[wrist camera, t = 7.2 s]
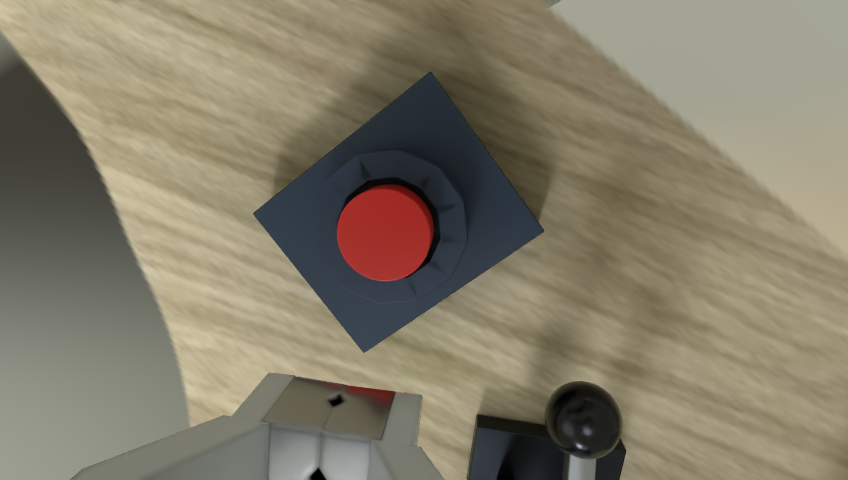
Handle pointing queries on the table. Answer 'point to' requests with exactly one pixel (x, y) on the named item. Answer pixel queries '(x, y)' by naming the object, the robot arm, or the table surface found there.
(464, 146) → the button block
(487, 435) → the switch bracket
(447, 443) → the table surface
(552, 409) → the switch lever
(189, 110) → the table surface
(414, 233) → the button
